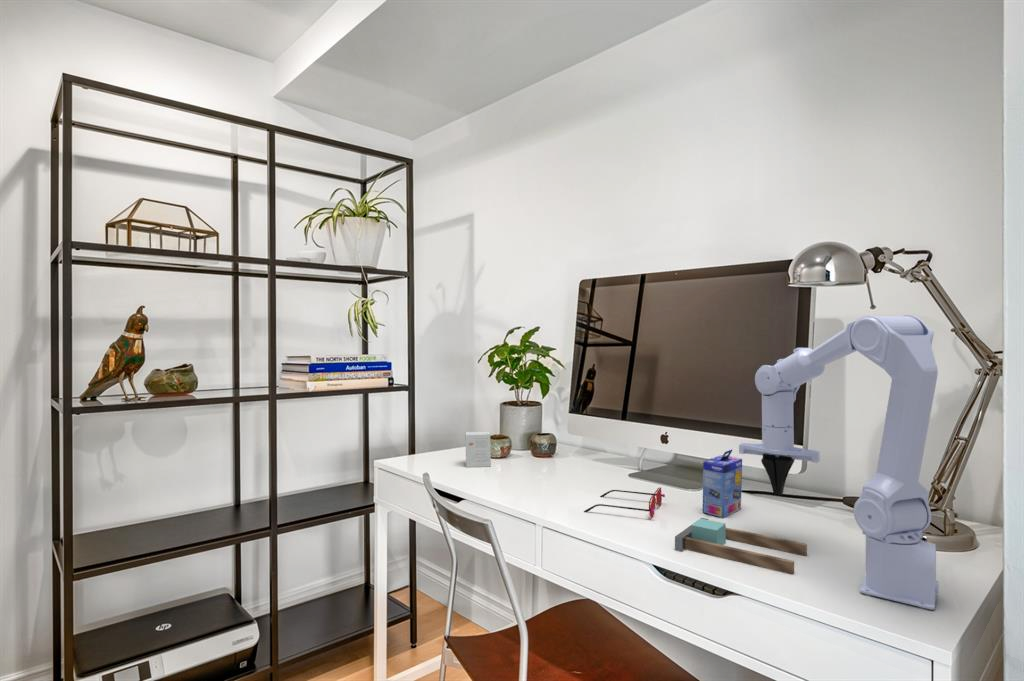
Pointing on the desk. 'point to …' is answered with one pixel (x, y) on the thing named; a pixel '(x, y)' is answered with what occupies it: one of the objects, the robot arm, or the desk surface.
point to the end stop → (683, 538)
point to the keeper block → (709, 531)
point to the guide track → (750, 556)
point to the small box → (478, 449)
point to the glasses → (651, 508)
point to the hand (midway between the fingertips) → (778, 493)
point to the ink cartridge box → (722, 485)
